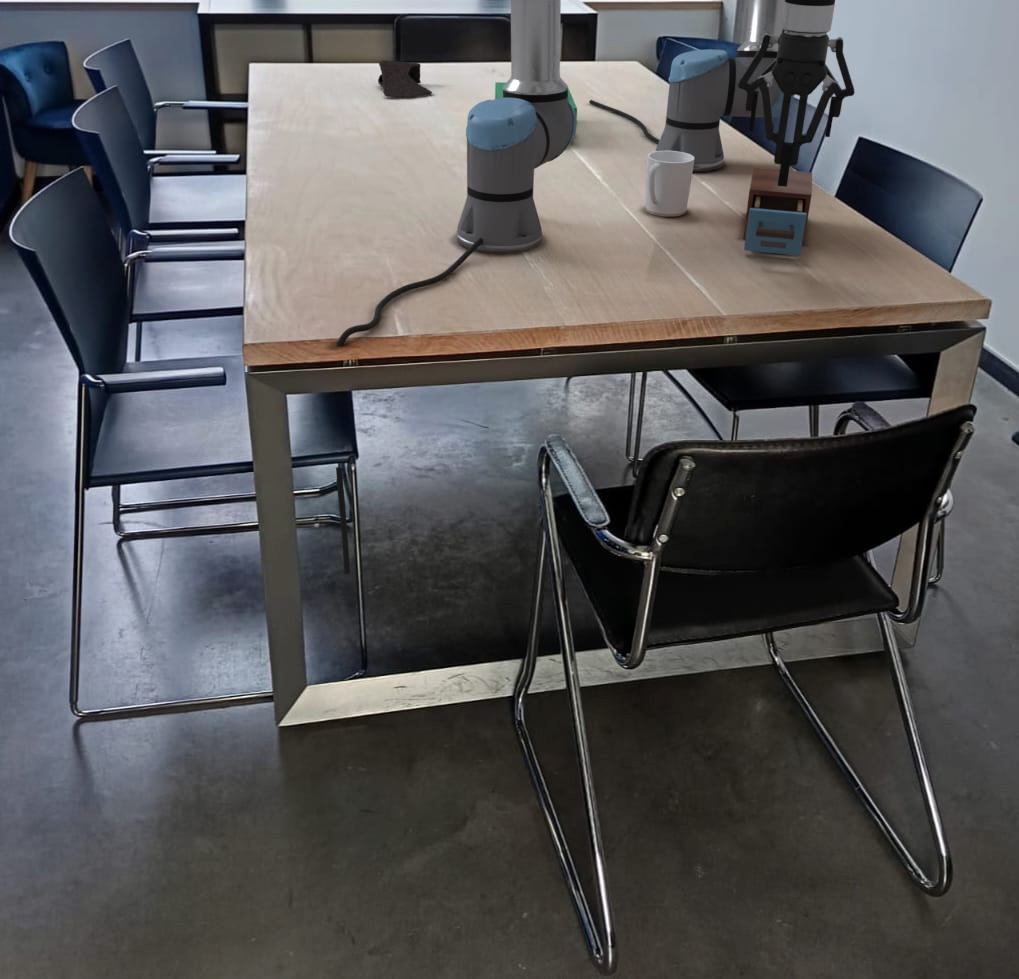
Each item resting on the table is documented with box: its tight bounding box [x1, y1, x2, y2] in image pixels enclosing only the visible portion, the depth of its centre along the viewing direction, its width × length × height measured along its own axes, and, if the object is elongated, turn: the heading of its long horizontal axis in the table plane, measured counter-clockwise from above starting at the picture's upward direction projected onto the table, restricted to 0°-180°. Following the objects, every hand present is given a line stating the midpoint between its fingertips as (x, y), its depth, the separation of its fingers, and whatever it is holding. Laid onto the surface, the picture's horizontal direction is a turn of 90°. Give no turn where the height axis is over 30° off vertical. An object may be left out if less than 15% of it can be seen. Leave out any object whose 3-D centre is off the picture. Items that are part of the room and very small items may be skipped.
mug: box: [644, 150, 694, 218], centre depth 209 cm, size 11×9×10 cm
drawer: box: [743, 195, 807, 257], centre depth 192 cm, size 19×10×7 cm, turn 166°
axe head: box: [377, 59, 433, 99], centre depth 299 cm, size 18×8×15 cm
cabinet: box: [742, 167, 813, 245], centre depth 202 cm, size 15×11×9 cm
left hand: (782, 183), depth 182 cm, fingers closed
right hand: (789, 132), depth 199 cm, fingers open, 13 cm apart
